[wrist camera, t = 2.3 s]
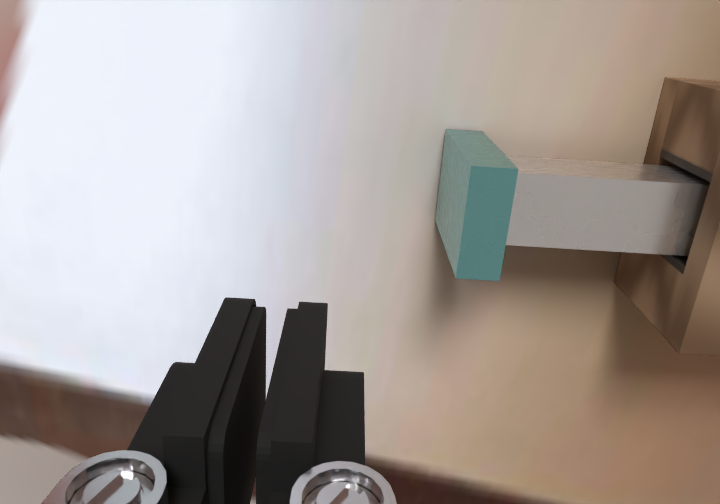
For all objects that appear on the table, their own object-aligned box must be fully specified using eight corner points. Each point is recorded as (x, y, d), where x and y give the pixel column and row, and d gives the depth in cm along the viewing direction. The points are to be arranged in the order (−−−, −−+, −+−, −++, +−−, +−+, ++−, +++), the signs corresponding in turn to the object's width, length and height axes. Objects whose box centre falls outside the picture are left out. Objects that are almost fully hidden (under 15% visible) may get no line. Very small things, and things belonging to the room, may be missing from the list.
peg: (445, 129, 32) (471, 165, 25) (702, 145, 33) (801, 186, 25) (435, 219, 34) (455, 278, 27) (677, 234, 35) (762, 296, 27)
